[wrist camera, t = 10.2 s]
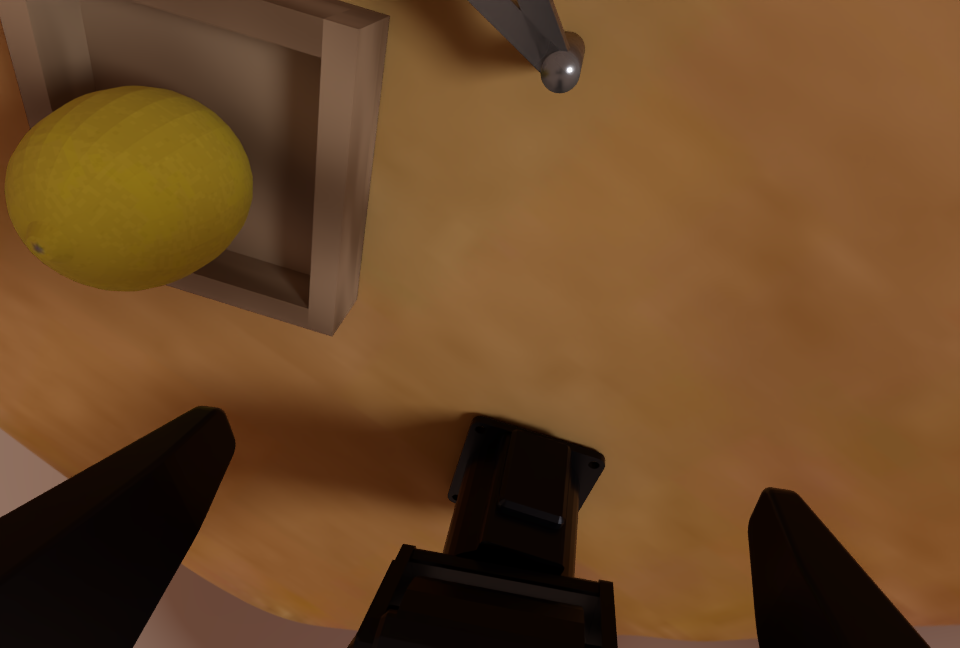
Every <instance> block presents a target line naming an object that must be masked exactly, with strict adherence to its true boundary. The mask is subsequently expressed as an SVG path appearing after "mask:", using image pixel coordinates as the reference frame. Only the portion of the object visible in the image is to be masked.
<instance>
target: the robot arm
mask: <svg viewBox="0 0 960 648" xmlns="http://www.w3.org/2000/svg"><path fill="white" fill-rule="evenodd" d="M479 426H482V427H484V428H482V427H479ZM234 451H235V438H234V435H233V432H232V430H231V427H230V424H229V422H228V419H227V416H226V414H225V412H224V411H223V410H222V409H220V408H215V407H208V406H198V407H196V408H193V409H192V410H190V411H188V412H186V413H184V414H183V415H181V416H179V417H177V418H176V419H174V420H172V421H170V422H169V423H167V424H165V425H163V426H161V427H160V428H158V429H156V430H154V431H153V432H151V433H149V434H147V435H146V436H144V437H142V438H140V439H138V440H137V441H135V442H133V443H131V444H130V445H128V446H126V447H124V448H123V449H121V450H119V451H117V452H115V453H114V454H112V455H110V456H108V457H107V458H105V459H103V460H101V461H100V462H98V463H96V464H94V465H92V466H91V467H89V468H87V469H85V470H84V471H82V472H80V473H78V474H77V475H75V476H73V477H71V478H69V479H68V480H66V481H64V482H62V483H61V484H59V485H57V486H55V487H54V488H52V489H50V490H48V491H47V492H45V493H43V494H41V495H39V496H38V497H36V498H34V499H32V500H31V501H29V502H27V503H25V504H24V505H22V506H20V507H18V508H17V509H15V510H13V511H11V512H9V513H8V514H6V515H4V516H2V517H0V648H133V646H134V645H135V643H136V641H137V639H138V638H139V636H140V634H141V632H142V631H143V629H144V627H145V625H146V624H147V622H148V620H149V618H150V617H151V615H152V613H153V611H154V610H155V608H156V606H157V604H158V603H159V601H160V599H161V597H162V596H163V594H164V592H165V590H166V588H167V587H168V585H169V583H170V581H171V580H172V578H173V576H174V574H175V573H176V571H177V569H178V567H179V566H180V564H181V562H182V560H183V559H184V557H185V555H186V553H187V552H188V550H189V548H190V546H191V545H192V543H193V541H194V539H195V537H196V535H197V534H198V532H199V530H200V528H201V526H202V523H203V521H204V519H205V517H206V515H207V513H208V510H209V508H210V506H211V504H212V501H213V499H214V497H215V495H216V492H217V490H218V488H219V486H220V483H221V481H222V479H223V477H224V474H225V472H226V470H227V468H228V465H229V463H230V461H231V459H232V456H233V454H234ZM593 461H594V462H593ZM604 467H605V457H604V456H603V455H602V454H601V453H599V452H596V451H593V450H590V449H587V448H584V447H580V446H577V445H574V444H571V443H567V442H564V441H561V440H558V439H555V438H551V437H548V436H545V435H542V434H538V433H535V432H532V431H529V430H526V429H522V428H519V427H516V426H513V425H509V424H506V423H503V422H500V421H497V420H493V419H490V418H487V417H483V416H478V417H475V418H474V419H473V420H472V423H471V426H470V429H469V432H468V435H467V438H466V441H465V444H464V447H463V450H462V453H461V456H460V459H459V462H458V465H457V468H456V471H455V474H454V477H453V480H452V483H451V486H450V489H449V493H448V498H449V500H450V501H452V502H454V503H456V505H455V509H454V512H453V516H452V520H451V524H450V527H449V531H448V535H447V539H446V542H445V546H444V550H443V553H438V552H433V551H427V550H422V549H417V548H416V546H413V545H407V544H403V545H402V547H401V549H400V551H399V553H398V555H397V557H396V559H395V560H393V561H392V562H391V564H390V566H389V568H388V570H387V572H386V575H385V577H384V579H383V581H382V583H381V585H380V587H379V589H378V591H377V593H376V595H375V597H374V599H373V601H372V603H371V605H370V608H369V610H368V612H367V614H366V616H365V618H364V620H363V622H362V624H361V626H360V628H359V630H358V632H357V634H356V636H355V637H354V638H353V640H352V641H351V643H350V644H349V646H348V647H347V648H618V646H617V632H616V618H615V604H614V590H613V582H610V581H604V580H599V582H597V581H591V580H586V579H580V578H575V577H574V573H575V557H576V540H577V523H578V512H579V510H580V508H581V507H582V505H583V503H584V502H585V500H586V498H587V497H588V495H589V493H590V491H591V490H592V488H593V486H594V485H595V483H596V481H597V480H598V478H599V476H600V475H601V473H602V471H603V470H604ZM748 540H749V551H750V563H751V574H752V586H753V597H754V609H755V620H756V629H757V636H758V642H759V648H930V646H929V645H928V644H927V643H926V642H925V640H924V639H923V638H922V637H921V636H920V635H919V634H918V633H917V631H916V630H915V629H914V628H913V627H912V625H911V624H910V623H909V622H908V621H907V620H906V618H905V617H904V616H903V615H902V614H901V613H900V611H899V610H898V609H897V608H896V607H895V606H894V605H893V603H892V602H891V601H890V600H889V599H888V598H887V596H886V595H885V594H884V593H883V592H882V591H881V589H880V588H879V587H878V586H877V585H876V584H875V583H874V581H873V580H872V579H871V578H870V577H869V576H868V574H867V573H866V572H865V571H864V570H863V569H862V567H861V566H860V565H859V564H858V563H857V562H856V561H855V559H854V558H853V557H852V556H851V555H850V554H849V552H848V551H847V550H846V549H845V548H844V547H843V545H842V544H841V543H840V542H839V541H838V540H837V539H836V537H835V536H834V535H833V534H832V533H831V532H830V530H829V529H828V528H827V527H826V526H825V525H824V523H823V522H822V521H821V520H820V519H819V518H818V517H817V515H816V514H815V513H814V512H813V511H812V510H811V508H810V507H809V506H808V505H807V504H806V503H805V501H804V500H803V499H802V498H801V497H800V496H799V495H798V494H797V493H796V492H794V491H791V490H786V489H779V488H772V487H768V488H765V489H764V490H763V492H762V493H761V495H760V497H759V500H758V502H757V504H756V506H755V508H754V511H753V513H752V515H751V517H750V520H749V525H748Z"/></svg>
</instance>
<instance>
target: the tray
mask: <svg viewBox="0 0 960 648" xmlns="http://www.w3.org/2000/svg"><path fill="white" fill-rule="evenodd" d="M0 19H1V22H2V26H3V30H4V34H5V37H6V41H7V45H8V48H9V52H10V56H11V60H12V63H13V67H14V71H15V74H16V78H17V82H18V86H19V89H20V93H21V97H22V100H23V104H24V108H25V111H26V115H27V119H28V123H29V126H30V129H31V128H32V127H33V126H35V125H36V124H37V123H38V122H39V121H41V120H42V119H43V118H45V117H46V116H48V115H49V114H51V113H52V112H54V111H55V110H57V109H58V108H60V107H62V106H63V105H65V104H66V103H68V102H70V101H72V100H74V99H75V98H78V97H80V96H83V95H85V94H89V93H92V92H96V91H101V90H106V89H111V88H117V87H122V86H147V87H154V88H162V89H167V90H172V91H174V92H177V93H179V94H182V95H185V96H187V97H190V98H192V99H194V100H196V101H198V102H200V103H201V104H203V105H204V106H206V107H207V108H209V109H210V110H212V111H213V112H215V113H216V114H217V115H218V116H219V117H220V118H221V119H222V120H223V121H224V122H225V123H226V124H227V125H228V126H229V127H230V128H231V129H232V131H233V132H234V134H235V135H236V136H237V138H238V139H239V140H240V142H241V144H242V146H243V148H244V150H245V152H246V155H247V157H248V159H249V163H250V167H251V171H252V175H253V198H252V202H251V206H250V209H249V213H248V216H247V219H246V221H245V223H244V226H243V227H242V229H241V230H240V231H239V233H238V234H237V236H236V237H235V238H234V240H233V241H232V242H231V244H230V245H229V246H228V247H227V248H226V249H225V251H224V252H222V253H221V254H220V255H219V256H218V257H217V258H215V259H214V260H213V261H211V262H210V263H208V264H206V265H205V266H203V267H202V268H200V269H198V270H197V271H195V272H193V273H192V274H190V275H188V276H186V277H184V278H182V279H179V280H177V281H174V282H172V283H169V284H166V285H167V286H171V287H174V288H177V289H180V290H183V291H187V292H190V293H193V294H196V295H200V296H203V297H206V298H209V299H213V300H216V301H219V302H222V303H225V304H229V305H232V306H235V307H238V308H242V309H245V310H248V311H251V312H255V313H258V314H261V315H264V316H267V317H271V318H274V319H277V320H280V321H284V322H287V323H290V324H293V325H297V326H300V327H303V328H306V329H309V330H313V331H316V332H319V333H322V334H326V335H329V336H333V335H334V333H335V332H336V330H337V329H338V327H339V326H340V324H341V323H342V321H343V320H344V318H345V317H346V315H347V314H348V312H349V311H350V309H351V308H352V306H353V305H354V303H355V302H356V300H357V293H358V284H359V276H360V267H361V258H362V250H363V241H364V233H365V224H366V216H367V207H368V198H369V190H370V181H371V173H372V164H373V156H374V147H375V138H376V130H377V121H378V113H379V104H380V96H381V87H382V78H383V70H384V61H385V53H386V44H387V36H388V27H389V19H390V16H388V15H385V14H382V13H379V12H375V11H372V10H369V9H365V8H362V7H359V6H355V5H352V4H349V3H345V2H342V1H339V0H0Z"/></svg>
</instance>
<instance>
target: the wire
mask: <svg viewBox="0 0 960 648" xmlns="http://www.w3.org/2000/svg"><path fill="white" fill-rule="evenodd" d="M468 1H469V2H470V3H471V4H472V5H473V6H474V7H475V8H476V9H477V10H478V11H479V12H480V13H481V14H482V15H483V16H484V17H485V18H486V19H487V20H488V21H489V22H490V23H491V24H492V25H493V26H494V27H495V28H496V29H497V30H498V31H499V32H500V33H501V34H502V35H503V36H504V37H505V38H506V39H507V40H508V41H509V42H510V43H511V44H512V45H513V46H514V47H515V48H516V49H517V50H518V51H519V52H520V53H521V54H522V55H523V56H524V57H525V58H526V59H527V60H528V61H529V62H530V63H531V64H532V65H533V66H534V67H535V68H536V69H537V70H538V71H539V72H540V73H541V79H542V82H543V84H544V85H545V87H546V88H547V89H549V90H550V91H552V92H554V93H565V92H567V91H569V90H571V89H572V88H573V87H574V86H575V85H576V84H577V82H578V80H579V76H580V72H581V67H582V62H583V58H584V53H585V45H584V42H583V40H582V38H581V37H580V36H579V35H578V34H576V33H574V32H564V30H563V27H562V24H561V21H560V19H559V16H558V13H557V10H556V8H555V5H554V2H553V0H468Z"/></svg>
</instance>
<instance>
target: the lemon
mask: <svg viewBox="0 0 960 648" xmlns="http://www.w3.org/2000/svg"><path fill="white" fill-rule="evenodd" d="M4 192H5V198H6V204H7V209H8V214H9V216H10V219H11V221H12V224H13V226H14V228H15V230H16V232H17V233H18V235H19V236H20V238H21V239H22V241H23V243H24V244H25V245H26V246H27V247H28V249H29V250H30V251H31V252H32V254H33V255H35V256H36V257H37V258H38V259H39V260H41V261H42V262H43V263H44V264H45V265H47V266H48V267H50V268H51V269H53V270H55V271H56V272H58V273H59V274H61V275H63V276H65V277H67V278H69V279H71V280H73V281H75V282H78V283H81V284H84V285H87V286H91V287H95V288H98V289H104V290H110V291H139V290H145V289H149V288H154V287H158V286H162V285H166V284H169V283H172V282H174V281H177V280H179V279H182V278H184V277H186V276H188V275H190V274H192V273H193V272H195V271H197V270H198V269H200V268H202V267H203V266H205V265H206V264H208V263H210V262H211V261H213V260H214V259H215V258H217V257H218V256H219V255H220V254H221V253H222V252H224V251H225V249H226V248H227V247H228V246H229V245H230V244H231V242H232V241H233V240H234V238H235V237H236V236H237V234H238V233H239V231H240V230H241V229H242V227H243V226H244V223H245V221H246V219H247V216H248V213H249V209H250V206H251V202H252V198H253V175H252V171H251V167H250V163H249V159H248V157H247V155H246V152H245V150H244V148H243V146H242V144H241V142H240V140H239V139H238V138H237V136H236V135H235V134H234V132H233V131H232V129H231V128H230V127H229V126H228V125H227V124H226V123H225V122H224V121H223V120H222V119H221V118H220V117H219V116H218V115H217V114H216V113H215V112H213V111H212V110H210V109H209V108H207V107H206V106H204V105H203V104H201V103H200V102H198V101H196V100H194V99H192V98H190V97H187V96H185V95H182V94H179V93H177V92H174V91H172V90H167V89H162V88H154V87H147V86H122V87H117V88H111V89H106V90H101V91H96V92H92V93H89V94H85V95H83V96H80V97H78V98H75V99H74V100H72V101H70V102H68V103H66V104H65V105H63V106H62V107H60V108H58V109H57V110H55V111H54V112H52V113H51V114H49V115H48V116H46V117H45V118H43V119H42V120H41V121H39V122H38V123H37V124H36V125H35V126H33V127H32V128H31V129H30V130H29V131H28V132H27V133H26V134H25V136H24V137H23V138H22V140H21V141H20V143H19V144H18V146H17V147H16V149H15V151H14V152H13V154H12V156H11V157H10V160H9V163H8V165H7V170H6V177H5V189H4Z"/></svg>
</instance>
